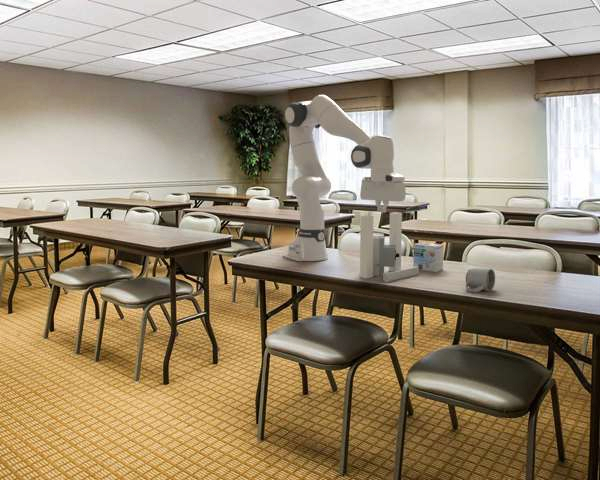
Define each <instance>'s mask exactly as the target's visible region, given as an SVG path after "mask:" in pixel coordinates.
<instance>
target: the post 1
mask: <svg viewBox="0 0 600 480" xmlns="http://www.w3.org/2000/svg"><path fill="white" fill-rule="evenodd" d="M359 230H360V231H359V233H360V240H359V243H360V245H359V246H360V247H359V248H360V249H359V252H360V253H359V258H360V259H359V263H360V264H359V278H361V279H371V278H373V277H374V276H373V236H374V215H360V229H359Z"/></svg>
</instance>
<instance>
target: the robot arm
mask: <svg viewBox="0 0 600 480" xmlns="http://www.w3.org/2000/svg"><path fill="white" fill-rule="evenodd" d="M283 116H284V119H285V122H286V124H287V125H288V126H289V128H288V136H289V145H290V149H291V154H292V158H293V163H294V166H295V168H297V169H298V170H299V172H300V176H299V177H297V178H295V179H294V180H293V182H292V185H291V191H292V193H293V195H294V196H295V197H296V200H297V204H298V209H299V216H300V218H299V220H300V224H299V225H300V228H299V229H296V233H298V234H297V236H296V238H294V239H293V240H291V242H290V243H289V244H288V246H287V253H284V254H282V257H283V256H284V257H283V258H286V259H290V260H293V261H296V262H319V261H320V262H321V261H324V260H325V261H326V260H328V258H329V257H328V253H327V252H328V251H327V246H326V240H325V237H326V228H325V211H324V209H323V208H322V206H321V205H322V204H321V202H320V201H321V200H320V198H323V197H325V196H326V195H328V194H329V192H330V191H331V189H332V182H331V180H330V179H329V178H328V177H327V175H326V174H325V171H324V169H323V167H322V164H321V162H320V159H319V156H318V153H317V148H316V144H315V138H314V136H313V130H314V128H315V129H319V128H320V127H321V128H322V129H323V130H324V131H325V132H326V133H328V135H331V136H334V137H339V138H344V139H348V140H351V141H353V142H355V144H357V145H356V146H354V147H353V149H352V150H351V152H350V153H351V154H350V159H351V163H352V165H353V166H354V167H355V168H356V169H357V168H358V169H362V170H363V169H367V170H368V169H370V176H365V177H363V178H362V180H361V186H360V193H359V196H360V199H361V200H362V201H375V202H374V204H375V205H376V208H377V213H386V212H387V207H388V206H389V204H390V202H404V201H405V199H406V186H405V185H406V183H404V182H405V175H403V174H399V173H397V172H395V171H394V169H395V168H394V158H395V157H394V156H395V155H394V153H395V150H394V142H393V139H392V137H390V136H389V135H382V134H374V135H372V136H371V134H370V133H368V132H367V131H366V130H365V129H364V128H363V127H362V126H361V125H359V124H358V123H357V122H355V121H354V120H353V119H352V118H351V117H350V116H349V115H348V114H347V113H346V112H344V110H343V109H342V108H341V107H340V105H338V104H337V103H336V101H334V100H332V98H330V97H329V96H327V95H325V94H319V95H316V96H315V97H313V99H312V100H305V101H298V102H297V101H296V102H292V103H289V104H288V105H286V107H285V108H284V115H283ZM381 203H382V204H383V205H382V204H381Z"/></svg>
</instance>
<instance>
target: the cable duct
mask: <svg viewBox="0 0 600 480" xmlns="http://www.w3.org/2000/svg"><path fill="white" fill-rule="evenodd" d="M419 271H420V270H419V267H417V266H409V267H405V268H401V269H400V270H395V271H387V272H384V273H383V276H382V282H386V283H388V282H393V281H396V280H401V279H405V278H408V277H409V278H410V277H412V276H416V275H419Z"/></svg>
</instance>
